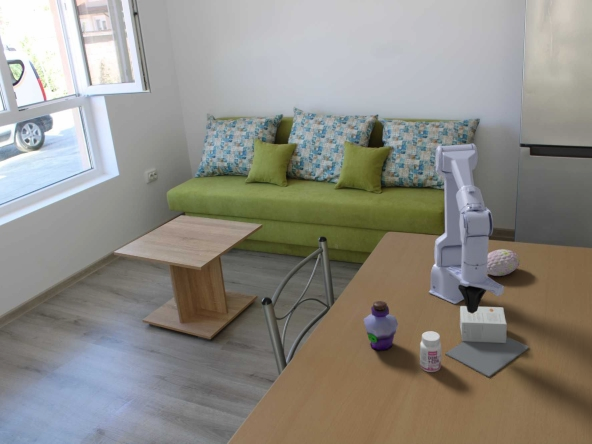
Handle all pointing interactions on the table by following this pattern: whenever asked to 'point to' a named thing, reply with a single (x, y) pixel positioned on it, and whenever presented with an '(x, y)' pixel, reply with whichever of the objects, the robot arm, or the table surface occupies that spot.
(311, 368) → the table surface
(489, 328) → the small box
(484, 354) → the mat
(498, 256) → the decorative item
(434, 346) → the pill bottle
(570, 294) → the table surface
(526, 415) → the table surface
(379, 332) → the potion bottle
